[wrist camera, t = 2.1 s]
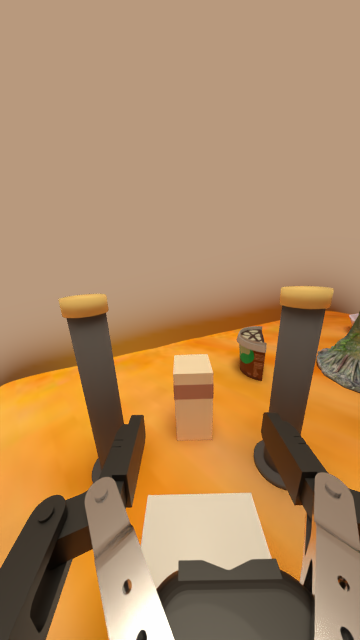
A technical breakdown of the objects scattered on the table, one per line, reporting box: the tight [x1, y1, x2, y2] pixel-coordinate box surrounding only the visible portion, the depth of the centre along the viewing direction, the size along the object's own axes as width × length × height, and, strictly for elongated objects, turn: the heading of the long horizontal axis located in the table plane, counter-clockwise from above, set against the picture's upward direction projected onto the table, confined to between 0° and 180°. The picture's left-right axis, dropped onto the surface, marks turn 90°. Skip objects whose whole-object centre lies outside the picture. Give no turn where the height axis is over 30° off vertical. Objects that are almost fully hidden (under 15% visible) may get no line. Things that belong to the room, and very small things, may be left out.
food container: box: [237, 326, 266, 381], centre depth 45 cm, size 12×6×10 cm, turn 160°
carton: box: [173, 354, 213, 441], centre depth 29 cm, size 6×6×12 cm
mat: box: [141, 493, 271, 589], centre depth 13 cm, size 12×16×1 cm
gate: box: [59, 286, 334, 490], centre depth 21 cm, size 28×6×24 cm, turn 90°
